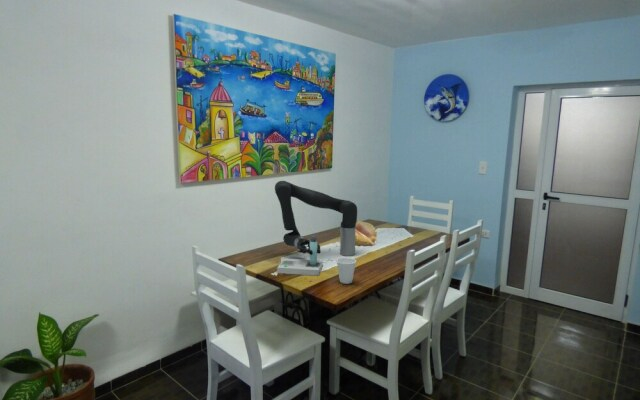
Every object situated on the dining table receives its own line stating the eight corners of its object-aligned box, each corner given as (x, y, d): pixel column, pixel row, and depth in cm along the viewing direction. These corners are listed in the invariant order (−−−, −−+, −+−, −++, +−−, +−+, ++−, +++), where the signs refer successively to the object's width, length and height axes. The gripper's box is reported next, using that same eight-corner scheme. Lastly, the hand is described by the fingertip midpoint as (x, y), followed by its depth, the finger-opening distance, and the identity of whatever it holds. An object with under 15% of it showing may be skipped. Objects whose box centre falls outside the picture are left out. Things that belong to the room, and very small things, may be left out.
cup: (332, 279, 190) (333, 258, 188) (350, 277, 194) (351, 256, 192) (340, 286, 181) (341, 264, 179) (359, 284, 184) (359, 262, 183)
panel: (284, 263, 214) (284, 257, 214) (322, 265, 211) (322, 259, 210) (277, 273, 199) (277, 266, 198) (318, 275, 195) (318, 269, 195)
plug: (310, 268, 206) (310, 234, 203) (317, 268, 205) (317, 235, 202) (309, 270, 202) (309, 236, 199) (316, 271, 202) (316, 236, 199)
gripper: (291, 239, 211) (303, 247, 196) (314, 236, 217) (327, 244, 202) (291, 252, 212) (303, 261, 197) (314, 249, 219) (327, 257, 203)
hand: (315, 252), depth 200 cm, fingers closed on plug, 4 cm apart
